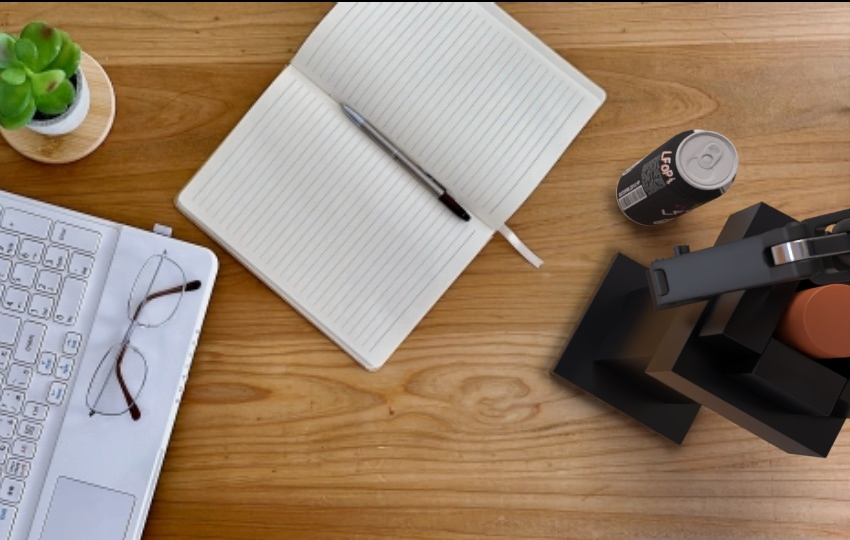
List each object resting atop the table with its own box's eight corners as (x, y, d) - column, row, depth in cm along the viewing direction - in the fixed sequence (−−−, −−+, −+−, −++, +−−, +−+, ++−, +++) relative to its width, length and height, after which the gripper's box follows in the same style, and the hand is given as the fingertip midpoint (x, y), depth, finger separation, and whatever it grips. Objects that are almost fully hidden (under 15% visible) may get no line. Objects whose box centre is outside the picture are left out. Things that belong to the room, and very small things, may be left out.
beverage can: (691, 189, 76) (763, 151, 64) (655, 240, 75) (720, 211, 63) (636, 152, 76) (696, 107, 65) (600, 203, 76) (654, 167, 64)
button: (822, 372, 50) (860, 370, 46) (758, 337, 50) (791, 332, 47) (853, 313, 50) (892, 307, 47) (789, 278, 50) (824, 270, 47)
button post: (674, 444, 73) (882, 473, 47) (548, 372, 74) (680, 359, 48) (739, 323, 74) (977, 284, 48) (613, 253, 75) (777, 178, 49)
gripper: (1307, 63, 35) (924, 187, 56) (711, 163, 35) (555, 248, 57) (1370, 242, 34) (955, 299, 55) (755, 343, 34) (580, 361, 55)
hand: (752, 273), depth 56 cm, fingers open, 12 cm apart
